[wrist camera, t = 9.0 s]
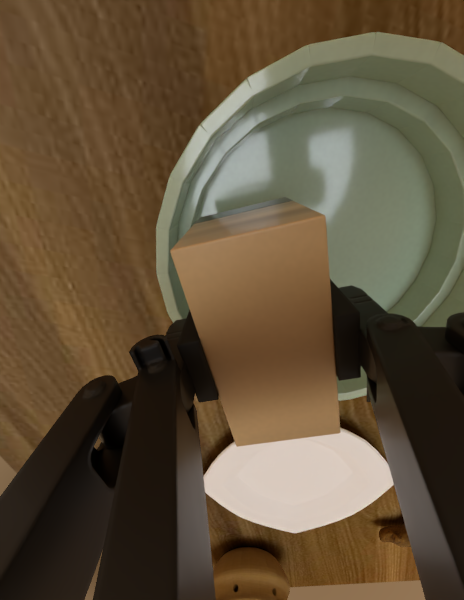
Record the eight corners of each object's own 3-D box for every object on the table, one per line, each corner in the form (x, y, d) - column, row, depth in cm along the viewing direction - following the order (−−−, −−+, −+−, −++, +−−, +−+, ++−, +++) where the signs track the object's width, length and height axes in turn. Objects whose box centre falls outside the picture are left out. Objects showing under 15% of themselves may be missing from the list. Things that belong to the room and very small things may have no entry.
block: (199, 217, 13) (168, 250, 7) (285, 196, 13) (326, 214, 7) (236, 354, 17) (236, 447, 11) (304, 342, 17) (341, 433, 11)
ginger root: (369, 520, 35) (383, 556, 32) (440, 492, 32) (463, 529, 29) (405, 546, 38) (421, 581, 35) (473, 523, 35) (498, 560, 32)
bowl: (306, -17, 13) (347, -133, 8) (509, 222, 18) (612, 240, 13) (130, 271, 20) (95, 302, 15) (310, 386, 25) (327, 439, 20)
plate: (293, 378, 24) (297, 394, 23) (412, 462, 30) (423, 481, 28) (179, 470, 31) (176, 487, 29) (292, 525, 36) (294, 543, 35)
